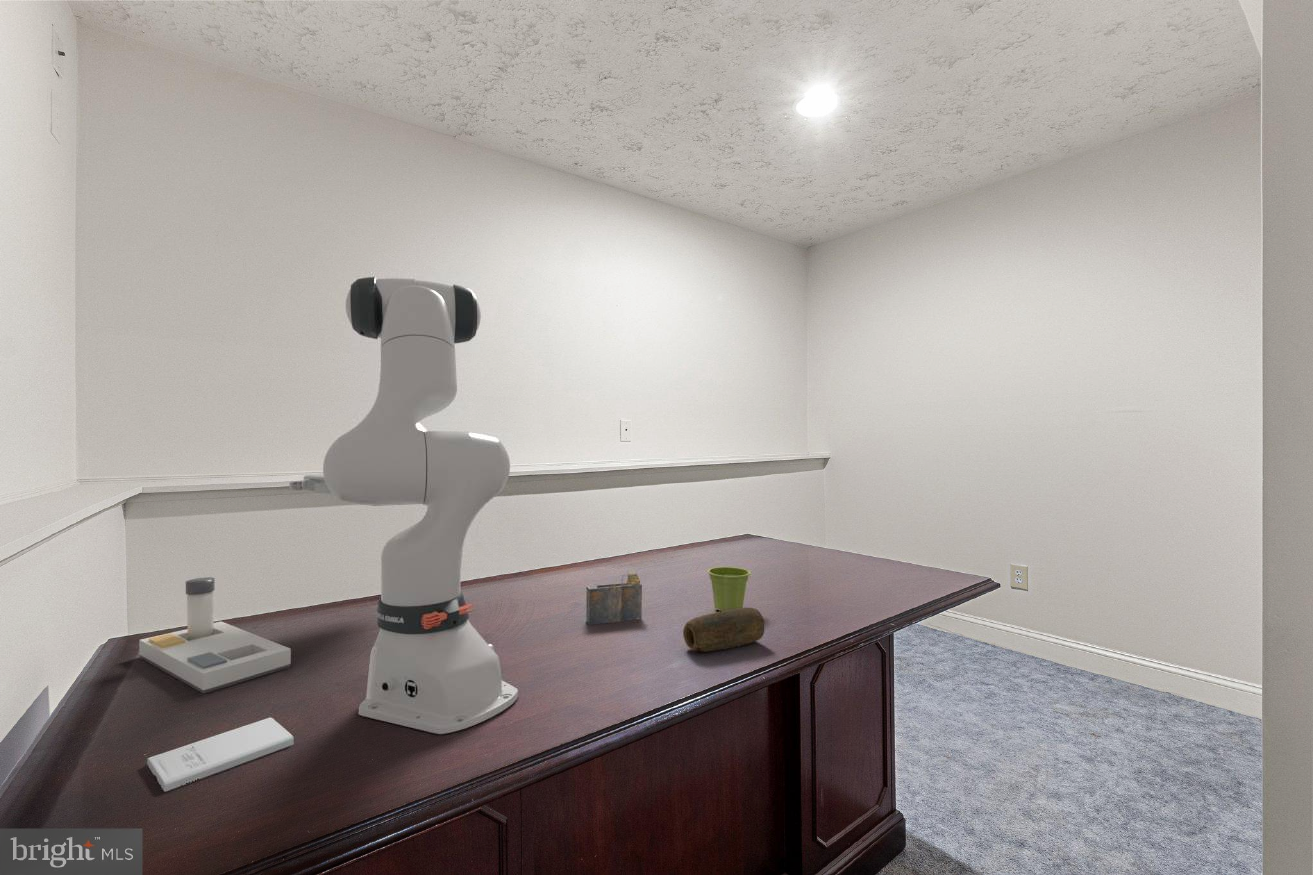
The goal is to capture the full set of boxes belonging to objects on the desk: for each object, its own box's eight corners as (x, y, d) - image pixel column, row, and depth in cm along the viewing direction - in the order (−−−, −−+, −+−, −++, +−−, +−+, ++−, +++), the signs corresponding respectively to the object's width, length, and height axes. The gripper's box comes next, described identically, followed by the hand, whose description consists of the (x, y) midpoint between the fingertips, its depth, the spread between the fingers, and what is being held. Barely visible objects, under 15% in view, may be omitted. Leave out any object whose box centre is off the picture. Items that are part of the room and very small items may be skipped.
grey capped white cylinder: (219, 646, 103) (218, 579, 103) (191, 653, 100) (191, 584, 100) (209, 641, 105) (208, 576, 105) (182, 649, 102) (181, 581, 102)
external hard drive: (293, 749, 71) (164, 797, 62) (270, 728, 77) (146, 769, 67) (294, 736, 71) (164, 782, 62) (270, 715, 77) (147, 755, 67)
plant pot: (707, 603, 134) (708, 565, 134) (748, 604, 133) (749, 567, 133) (707, 615, 124) (707, 575, 124) (751, 617, 123) (751, 576, 123)
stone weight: (743, 634, 113) (744, 600, 113) (767, 646, 107) (767, 609, 107) (678, 648, 105) (679, 611, 105) (700, 661, 99) (700, 622, 99)
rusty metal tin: (637, 616, 125) (637, 571, 125) (641, 620, 122) (641, 574, 122) (585, 621, 121) (586, 575, 121) (589, 626, 118) (589, 579, 118)
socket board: (290, 666, 95) (290, 646, 95) (203, 693, 85) (203, 670, 85) (221, 637, 109) (221, 619, 109) (139, 657, 99) (139, 637, 99)
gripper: (343, 467, 132) (277, 469, 121) (396, 470, 121) (330, 473, 110) (342, 494, 132) (277, 499, 121) (396, 500, 121) (330, 506, 110)
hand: (302, 487), depth 115 cm, fingers open, 8 cm apart
